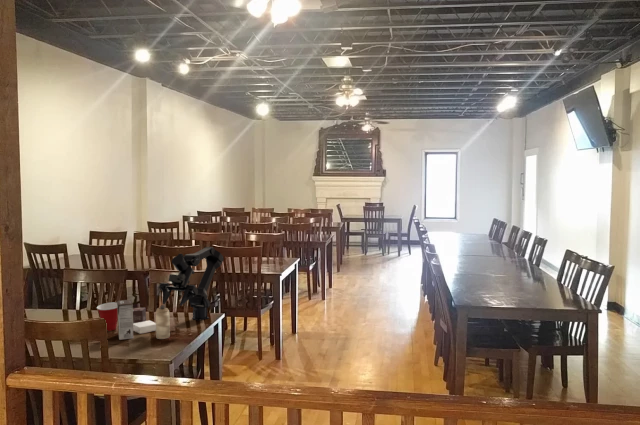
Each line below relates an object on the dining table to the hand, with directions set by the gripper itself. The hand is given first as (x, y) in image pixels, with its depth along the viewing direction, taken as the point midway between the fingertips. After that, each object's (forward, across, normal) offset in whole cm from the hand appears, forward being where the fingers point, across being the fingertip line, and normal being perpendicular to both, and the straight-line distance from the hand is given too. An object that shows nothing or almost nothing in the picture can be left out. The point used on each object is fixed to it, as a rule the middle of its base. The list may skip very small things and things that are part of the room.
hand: (171, 304), depth 249 cm
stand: (+10, -15, +9) cm, 20 cm away
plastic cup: (+13, -32, +6) cm, 35 cm away
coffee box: (+18, -17, +1) cm, 25 cm away
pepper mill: (+15, 0, +3) cm, 16 cm away
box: (+4, -25, +16) cm, 30 cm away
